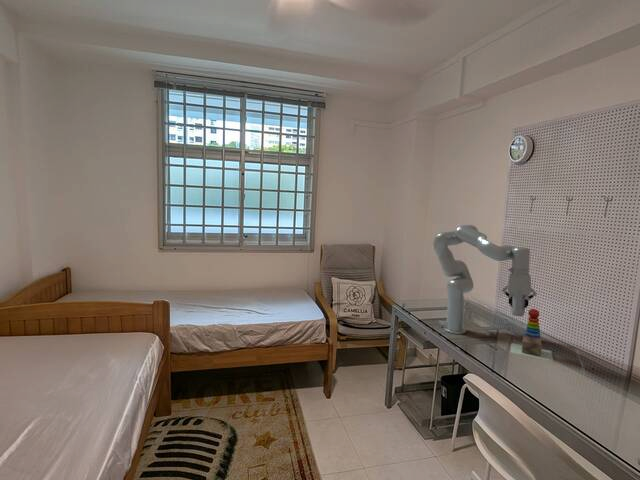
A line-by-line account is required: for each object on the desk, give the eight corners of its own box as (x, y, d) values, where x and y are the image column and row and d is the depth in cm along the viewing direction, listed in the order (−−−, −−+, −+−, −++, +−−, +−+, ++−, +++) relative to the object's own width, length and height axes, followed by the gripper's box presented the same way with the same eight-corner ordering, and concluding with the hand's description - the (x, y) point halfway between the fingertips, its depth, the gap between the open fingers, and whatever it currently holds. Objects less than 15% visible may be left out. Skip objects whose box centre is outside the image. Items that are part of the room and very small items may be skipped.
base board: (510, 354, 173) (510, 352, 172) (511, 345, 184) (511, 343, 184) (553, 363, 163) (553, 361, 163) (551, 353, 175) (551, 350, 174)
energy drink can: (512, 312, 178) (513, 284, 177) (525, 314, 175) (527, 285, 173) (509, 315, 174) (511, 286, 172) (523, 317, 170) (524, 288, 168)
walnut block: (521, 352, 172) (522, 341, 171) (522, 346, 179) (522, 336, 178) (540, 356, 168) (541, 345, 167) (540, 350, 175) (541, 339, 174)
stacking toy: (536, 339, 192) (538, 307, 190) (543, 345, 184) (546, 311, 182) (521, 338, 193) (524, 306, 191) (528, 344, 185) (531, 311, 183)
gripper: (500, 271, 173) (498, 305, 175) (540, 274, 164) (538, 311, 166) (501, 268, 180) (499, 302, 181) (540, 272, 171) (538, 307, 172)
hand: (518, 306), depth 174 cm, fingers closed on energy drink can, 6 cm apart
